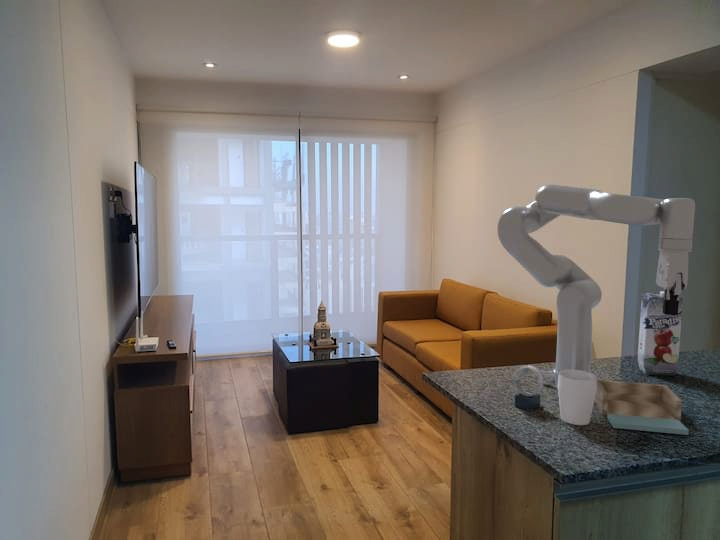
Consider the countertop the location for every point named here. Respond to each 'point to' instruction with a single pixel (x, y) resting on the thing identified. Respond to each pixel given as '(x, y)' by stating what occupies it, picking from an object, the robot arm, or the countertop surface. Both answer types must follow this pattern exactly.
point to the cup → (576, 395)
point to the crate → (637, 400)
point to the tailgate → (647, 424)
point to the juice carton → (658, 337)
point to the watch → (527, 398)
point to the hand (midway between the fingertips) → (670, 314)
